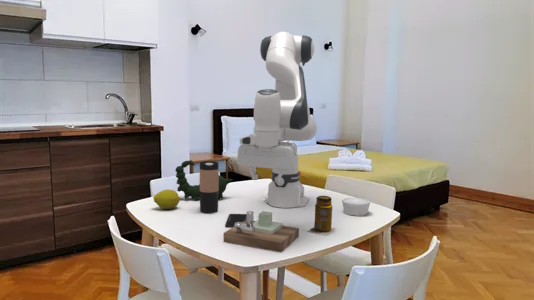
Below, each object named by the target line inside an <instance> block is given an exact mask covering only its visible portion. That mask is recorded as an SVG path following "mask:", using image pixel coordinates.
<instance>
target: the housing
mask: <svg viewBox="0 0 534 300" xmlns="http://www.w3.org/2000/svg"><path fill="white" fill-rule="evenodd" d="M255 221H256V220H253V223H254V222H255ZM242 223H243V224H247V220H245V221H243V222H242ZM299 228H300V227H295V226H288V225H283V227H281V228H280V229H279V230H277V231H276V232H275V233H273V234H268V233H262V232H256V231H249V230H245V229H241V228H235V226H234V227H233V228H229V229H227V230H226V231H224V232H223V242H224V243H227V244H234V245H238V246H239V245H240V246H245V247H249V248H255V249H259V250H261V249H262V250H265V251H266V250H267V251H271V252H276V253H282V252H283V251H285V249H286V248H287V247H289V246H290V245H291V244H292V243H293V242H294V241H296V239H298V238H299V236H300V235H299V234H300V232H299V231H300V229H299Z"/></svg>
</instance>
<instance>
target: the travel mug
mask: <svg viewBox="0 0 534 300" xmlns="http://www.w3.org/2000/svg"><path fill="white" fill-rule="evenodd" d="M219 166H220V165H219V162H218V161H214V160H212V161H211V160H209V161H208V160H207V161H206V160H205V161H201V162H199V184H200V198H199V210H200V213H202V214H207V215H208V214H210V215H211V214H216V213H218V211H219V199H218V195H219V175H220V174H219V173H220V172H219Z"/></svg>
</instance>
